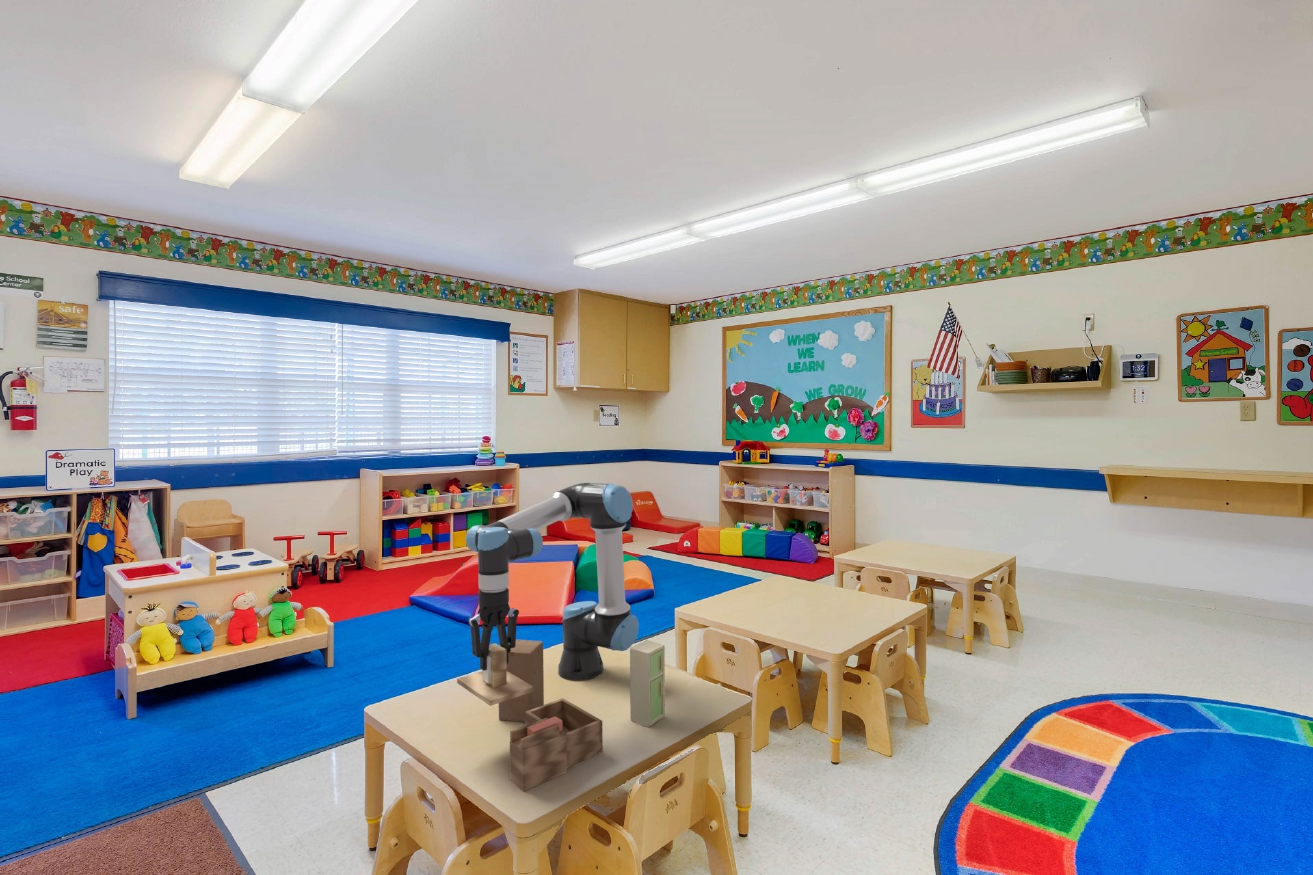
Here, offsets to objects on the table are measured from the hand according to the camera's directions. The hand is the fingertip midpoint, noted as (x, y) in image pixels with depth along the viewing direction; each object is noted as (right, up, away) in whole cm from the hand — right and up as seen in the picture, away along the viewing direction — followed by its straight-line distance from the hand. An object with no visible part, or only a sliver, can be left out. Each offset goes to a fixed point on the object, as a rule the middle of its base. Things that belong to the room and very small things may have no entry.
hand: (494, 679), depth 162 cm
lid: (0, -2, 0) cm, 2 cm away
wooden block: (+2, -18, +21) cm, 28 cm away
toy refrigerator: (+39, -18, +17) cm, 47 cm away
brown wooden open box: (+13, -19, -2) cm, 23 cm away
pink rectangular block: (+15, -9, -10) cm, 20 cm away
